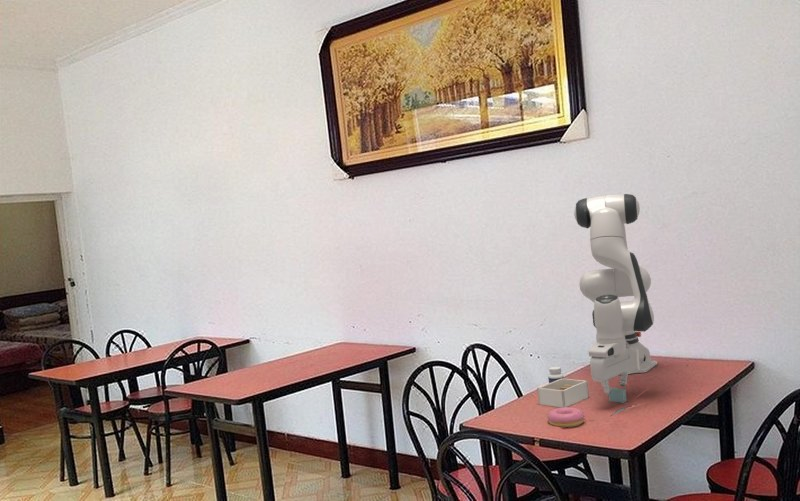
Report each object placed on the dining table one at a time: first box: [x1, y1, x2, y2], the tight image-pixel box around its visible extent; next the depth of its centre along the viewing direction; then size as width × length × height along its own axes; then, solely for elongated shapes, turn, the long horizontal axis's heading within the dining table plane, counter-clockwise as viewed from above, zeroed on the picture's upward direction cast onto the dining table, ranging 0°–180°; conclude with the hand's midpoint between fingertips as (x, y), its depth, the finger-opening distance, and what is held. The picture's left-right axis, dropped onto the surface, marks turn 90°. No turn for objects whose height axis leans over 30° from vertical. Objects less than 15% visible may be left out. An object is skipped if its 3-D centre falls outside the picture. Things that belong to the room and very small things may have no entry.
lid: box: [608, 387, 632, 417], centre depth 223 cm, size 15×11×5 cm
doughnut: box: [546, 406, 585, 429], centre depth 212 cm, size 11×11×4 cm
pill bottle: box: [547, 366, 565, 384], centre depth 247 cm, size 5×5×9 cm
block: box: [560, 385, 574, 390], centre depth 236 cm, size 4×4×4 cm
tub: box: [536, 378, 590, 408], centre depth 234 cm, size 14×10×6 cm
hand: (615, 389), depth 226 cm, fingers open, 8 cm apart
